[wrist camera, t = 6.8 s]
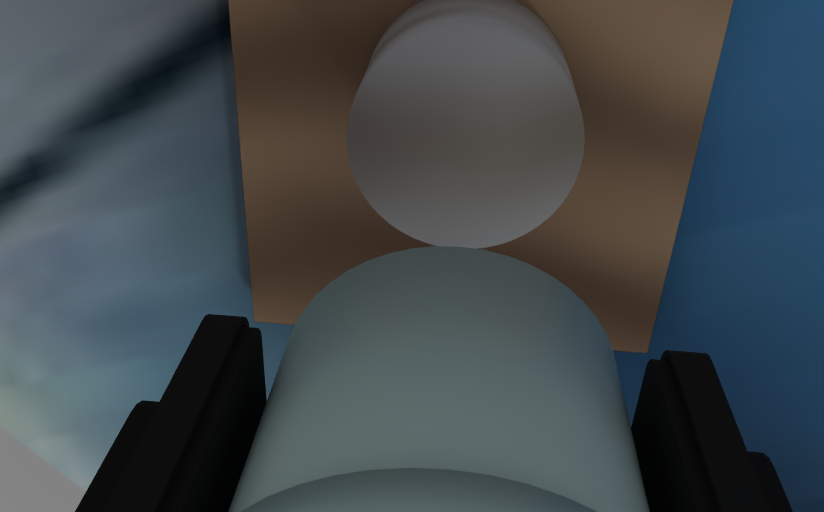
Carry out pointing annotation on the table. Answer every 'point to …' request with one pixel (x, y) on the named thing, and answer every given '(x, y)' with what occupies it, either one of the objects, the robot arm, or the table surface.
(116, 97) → the table surface
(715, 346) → the table surface
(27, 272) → the table surface
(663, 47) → the stud board
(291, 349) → the cap
